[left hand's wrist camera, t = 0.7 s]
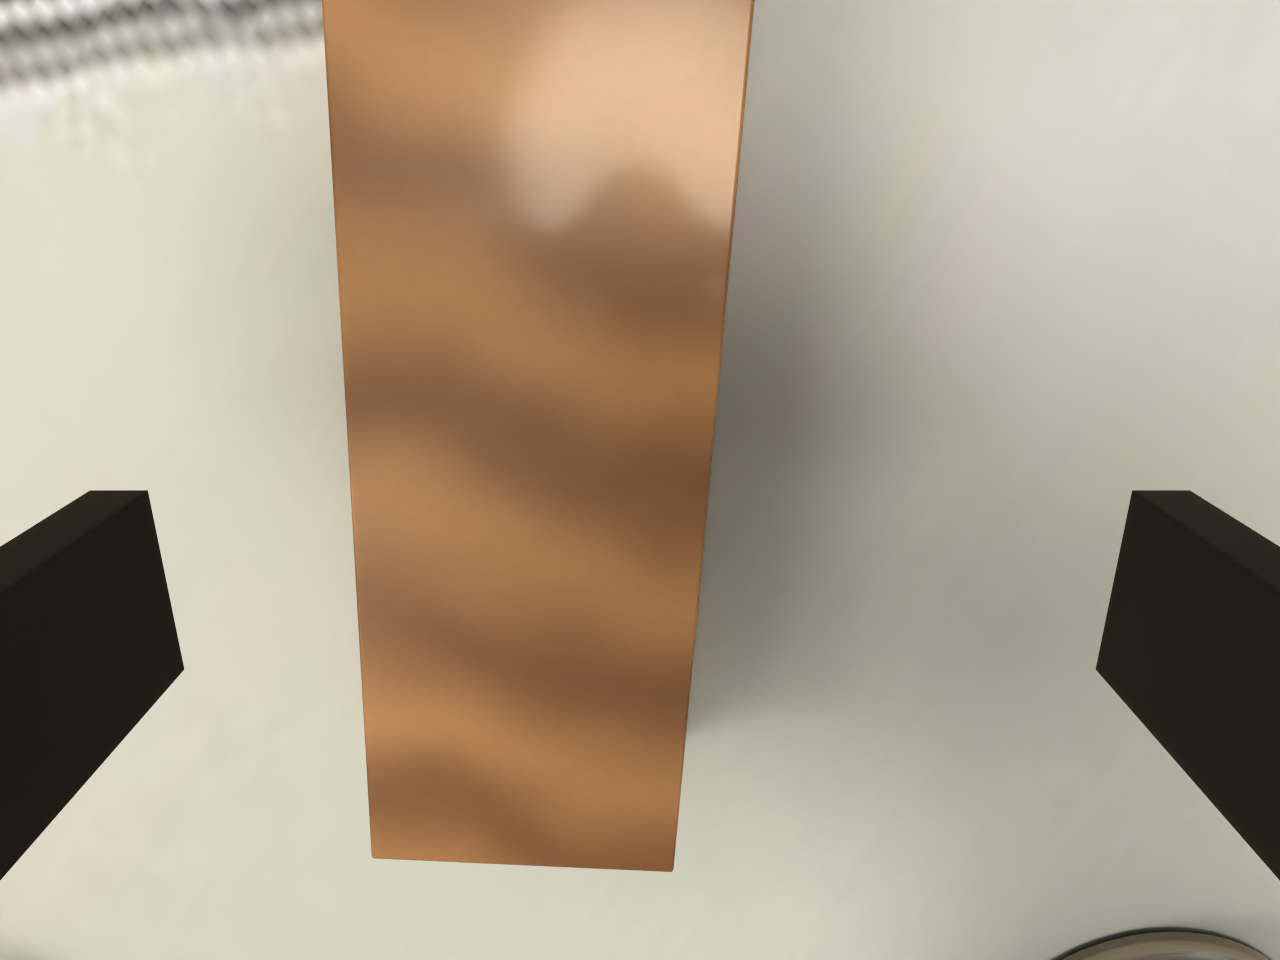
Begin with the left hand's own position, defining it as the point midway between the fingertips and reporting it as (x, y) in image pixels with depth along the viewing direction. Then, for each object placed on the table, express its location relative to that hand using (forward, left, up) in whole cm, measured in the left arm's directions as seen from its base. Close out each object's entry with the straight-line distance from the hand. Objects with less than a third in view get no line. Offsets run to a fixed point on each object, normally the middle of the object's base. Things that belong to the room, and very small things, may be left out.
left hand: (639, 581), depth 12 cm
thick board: (+23, -2, -20) cm, 31 cm away
